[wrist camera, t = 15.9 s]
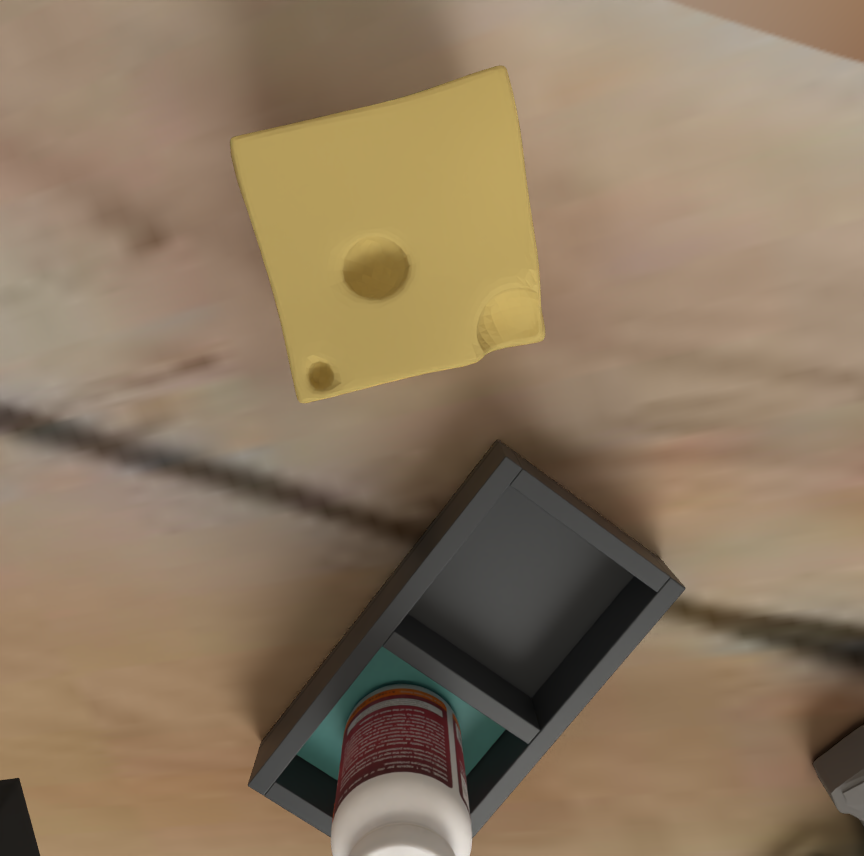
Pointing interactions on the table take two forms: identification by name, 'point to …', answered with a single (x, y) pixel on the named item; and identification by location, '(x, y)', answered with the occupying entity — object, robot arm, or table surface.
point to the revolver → (845, 773)
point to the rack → (480, 636)
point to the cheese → (396, 234)
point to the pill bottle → (401, 778)
